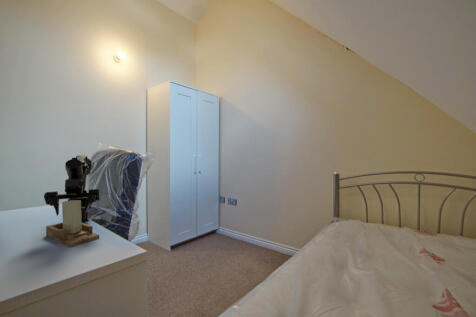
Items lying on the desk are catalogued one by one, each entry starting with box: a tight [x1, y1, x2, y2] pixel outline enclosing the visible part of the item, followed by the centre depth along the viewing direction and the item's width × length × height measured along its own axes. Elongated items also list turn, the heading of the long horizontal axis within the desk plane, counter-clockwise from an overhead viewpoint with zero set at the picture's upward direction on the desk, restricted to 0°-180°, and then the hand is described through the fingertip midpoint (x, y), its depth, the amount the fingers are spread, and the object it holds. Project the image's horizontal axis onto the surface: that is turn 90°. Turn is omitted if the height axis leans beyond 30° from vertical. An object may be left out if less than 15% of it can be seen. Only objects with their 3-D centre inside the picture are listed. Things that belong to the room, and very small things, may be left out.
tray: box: [45, 222, 100, 248], centre depth 88 cm, size 10×21×4 cm, turn 61°
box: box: [61, 200, 83, 234], centre depth 88 cm, size 5×4×13 cm
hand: (71, 213), depth 87 cm, fingers open, 9 cm apart
